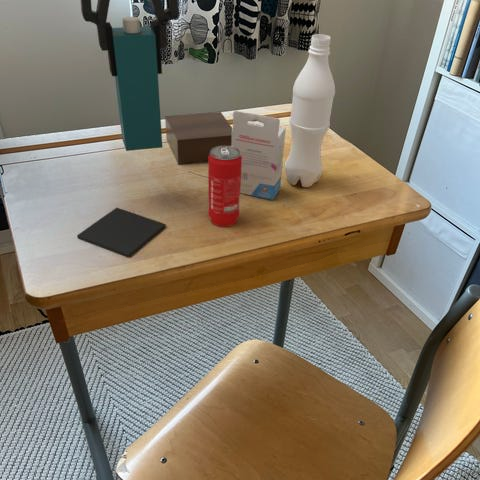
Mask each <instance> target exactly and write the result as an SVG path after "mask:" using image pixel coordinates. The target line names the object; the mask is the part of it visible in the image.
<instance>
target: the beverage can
mask: <svg viewBox="0 0 480 480" xmlns="http://www.w3.org/2000/svg"><path fill="white" fill-rule="evenodd" d="M240 154H241V153H240V151H239V150H238V149H237V148H235V147H231V146H217V147H214V148H212V149H211V151H210V155H209V157H208V163H207V165H208V166H207V167H208V169H207V170H208V175H207V177H208V179H207V180H208V181H207V182H208V183H207V184H208V190H207V191H208V192H207V193H208V194H207V195H208V200H207V205H208V206H207V207H208V209H207V210H208V213H207V214H208V217H209V219H210V222H211V223H212V224H213V225H215V226H217V227H220V228H221V227H223V228H225V227H226V228H227V227H231V226H234V225H235V224H236V223H237V221H238V219H239V217H240V207H241V193H240V187H241V166H242V157H241V155H240Z"/></svg>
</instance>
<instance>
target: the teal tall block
mask: <svg viewBox="0 0 480 480" xmlns="http://www.w3.org/2000/svg"><path fill="white" fill-rule="evenodd" d="M112 32H113V42H114V51H115V60H116V68H117V76H114V80H115V89H116V97H117V106H118V115H119V123H120V131H121V132H120V133H121V140H122V143H123V145H124V148H125V152H131V151H140V150H151V149H162V148H163V134H162V117H161V103H160V102H161V101H160V86H159V74H158V69H157V53H156V37H155V34H154V32H153V31H152V29H151V25H150V26H141V20H140V18H139V17H137V16H125V17H122V27H112Z"/></svg>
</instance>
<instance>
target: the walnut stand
mask: <svg viewBox="0 0 480 480" xmlns="http://www.w3.org/2000/svg"><path fill="white" fill-rule="evenodd" d="M164 119H165V120H164V123H165V137H166V142H167V144H168V147H169V148H170V150H171V152H172V154H173V156H174V158H175V161H176V162H177V164H178V165H187V164H188V165H189V164H197V163H199V164H200V163H207V162H208V157H209V155H210V151H211V149H212V148H214V147H217V146H232V128H233V126H232V125H231V124H230V123H229V121H228V120H227V118H226V117H225V116H224V114H223V113H222V111H215V112H201V113H189V114H188V113H187V114H176V115H165V116H164Z"/></svg>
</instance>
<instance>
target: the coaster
mask: <svg viewBox="0 0 480 480" xmlns="http://www.w3.org/2000/svg"><path fill="white" fill-rule="evenodd" d="M166 227H167V224H166V223H164V222H161V221H158V220H155V219H152V218H150V217H146V216H144V215H140V214H137V213H134V212H131V211H129V210H126V209H122V208H120V207H115V208H114V209H112V210H111V211H110V212H108V213H107V214H105V215H104V216H103V217H101V218H99V219H98V220H97V221H96V222H94V223H93V224H91V225H90V226H88V227H87V228H85V229H84V230H82V231H81V232H80V233H78V234H77V236H76V237H77V239H79V240H81V241H84V242H86V243H90V244H92V245H95V246H97V247H100V248H102V249H106V250H108V251H109V252H110V251H111V252H112V253H113V252H114V253H116V254H119V255H121V256H124V257H126V258H130V257H132V256H133V255H134V254H135V253H136V252H138V251H139V250H140V249H141V248H143V247H144V246H145V245H146V244H147V243H148V242H150V241H151V240H152V239H153V238H155V237H156V236H157V235H158V234H159V233H161V232H162V231H163V230H164V229H166Z"/></svg>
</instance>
